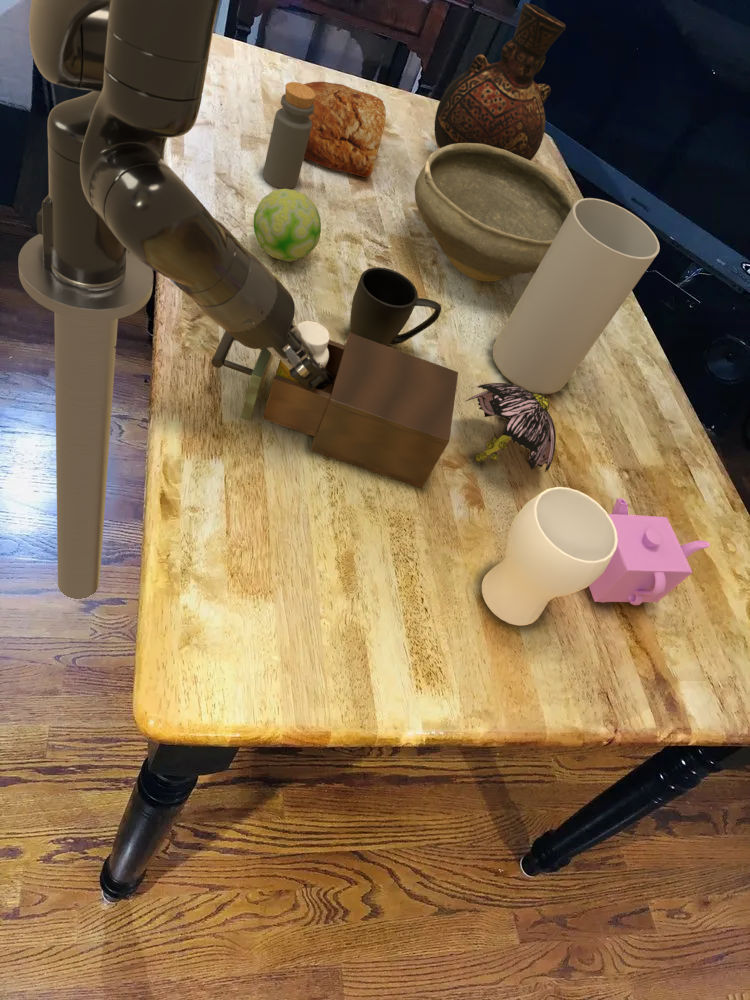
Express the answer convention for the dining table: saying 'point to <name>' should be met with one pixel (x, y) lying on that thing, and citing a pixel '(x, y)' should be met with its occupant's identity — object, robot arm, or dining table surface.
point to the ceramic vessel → (502, 92)
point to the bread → (345, 128)
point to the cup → (549, 554)
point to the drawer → (283, 389)
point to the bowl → (490, 209)
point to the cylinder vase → (574, 294)
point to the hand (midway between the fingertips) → (314, 364)
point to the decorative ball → (287, 224)
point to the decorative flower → (519, 422)
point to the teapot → (643, 559)
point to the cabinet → (388, 412)
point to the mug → (386, 307)
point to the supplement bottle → (316, 339)
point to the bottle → (289, 136)
